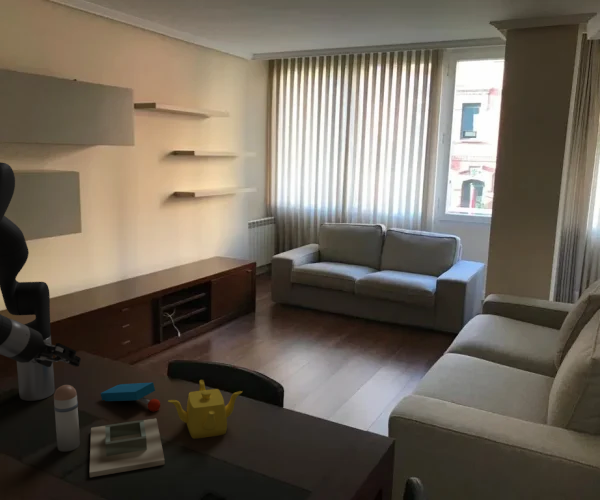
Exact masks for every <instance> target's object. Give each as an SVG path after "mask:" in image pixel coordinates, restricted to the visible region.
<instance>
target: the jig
mask: <svg viewBox="0 0 600 500" xmlns="http://www.w3.org/2000/svg"><path fill="white" fill-rule="evenodd" d="M161 440H162V439H161V434H160V430H159V423H158V419H157V418H156V417H155V418H148V419H141V420H140V419H139V420H134V421H133V420H132V421H126V422H121V423H113V424H106V425H101V426H93V427H90V444H89V445H90V447H89V451H90V453H89V478H95V477H101V476H107V475H112V474H119V473H123V472H124V473H125V472H130V471H135V470H140V469H146V468H153V467H158V466H164V465H165V464H166V463H165V455H164V450H163V446H162V445H163V443H162V441H161Z"/></svg>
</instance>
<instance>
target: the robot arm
mask: <svg viewBox="0 0 600 500" xmlns="http://www.w3.org/2000/svg"><path fill="white" fill-rule="evenodd" d="M15 187H16V178H15V173H14V170H13V168H12V167H11V165H10V164H8V163H5V162H0V292H1V296H2V299H3V302H4V306H5V309H6V310H7V312H8V313H9V314H10V315H12V316H35V319H33V320H32V321H30V322H27V323H21V322H19V321H18V320H16V319H12V318H8V317H7V316H5V315H2V314H1V313H0V355H1V356H4V357H5V358H6V357H7V358H9V359H11V360H12V361H16V369H17V370H16V371H17V381H18V393H19V399H21V400H22V401H29V402H34V401H40V400H44V399H46V398H49V397H51V396H52V395H54V393H55V391H56V388H55V373H54V363H58V362H63V363H66V364H68V365H71V366H73V367H75V368H76V367H80V364H81V357H80V356H78V355H76V354H77V351H76V350H75V349H72V348H71V347H69V346H66V345H64V344H62V343H60V342H57V343H55V345H54V344H52V334H51V310H50V309H51V307H50V305H51V304H50V303H51V302H50V301H51V300H50V299H51V297H50V296H51V295H50V289H49V288H50V287H49V285H48V283H46V281H17V280H16V279H17V277H18V275H19V273H20V272H21V270H22V269H23V267H24V266H25V264H26V263H27V260H28V258H29V247H28V245H27V241H26V238H25V236H24V233H23V231H22V229H20V227H18V225H17V224H16V223H14V221H12V220H11V219H9V217H6V216H5V214H6V212H7V210H8V208H9V206H10V203H11V201H12V199H13V196H14V193H15ZM53 356H55V358H54V357H53Z"/></svg>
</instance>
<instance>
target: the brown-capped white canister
mask: <svg viewBox="0 0 600 500" xmlns="http://www.w3.org/2000/svg"><path fill="white" fill-rule="evenodd" d="M53 404H54V405H53V410H54V418H55V431H56V433H55V434H56V446H57V450H58V451H60V452H62V453H63V452H71V451H74V450H76V449H78V448H79V447H80V445H81V440H80V439H81V437H80V425H79V423H80V422H79V411H78V410H79V409H78V408H79V401H78V393H77V389H76V388H74V386H73V385H70V384H63V385H61V386H59V387H58V388H56V389H55V392H54V394H53Z"/></svg>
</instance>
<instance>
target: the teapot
mask: <svg viewBox="0 0 600 500" xmlns="http://www.w3.org/2000/svg"><path fill="white" fill-rule="evenodd" d="M198 382H199V383H198V384H199V389H198V390H195V391H190V392H189V393H188V397H187V402H186V403H187V404H186V410H184V409H183V406H182V405H181V402H180V401H179V400H176V399H169V400H167V403H170V404H172V405H174V407H175V409H176V411H177V415H178V418H179V419H180V420H181V421H182V422H183V423H185V424H186V426H187V430H188V432H189V435H190V437H191V438H192V439H194V440H195V439H205V438H210V437H211V438H212V437H217V436H222V435H225V434H226V433H227V431H228V417H230V416H231V415H232V413H233V411H234V408H235V403H236V400H237V397H238V396H239V395H241V394H242V393H243V390H242V391H241V390H239V391H236V392H233V393H232V395H231V396H230V398H229V399H230V400H229V401H228V403H227V404H225V399H224V397H223V394H222V392H221V391H220V389H219V388H213V389H206V384H205V380H204V379H200V380H199V381H198Z"/></svg>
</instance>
